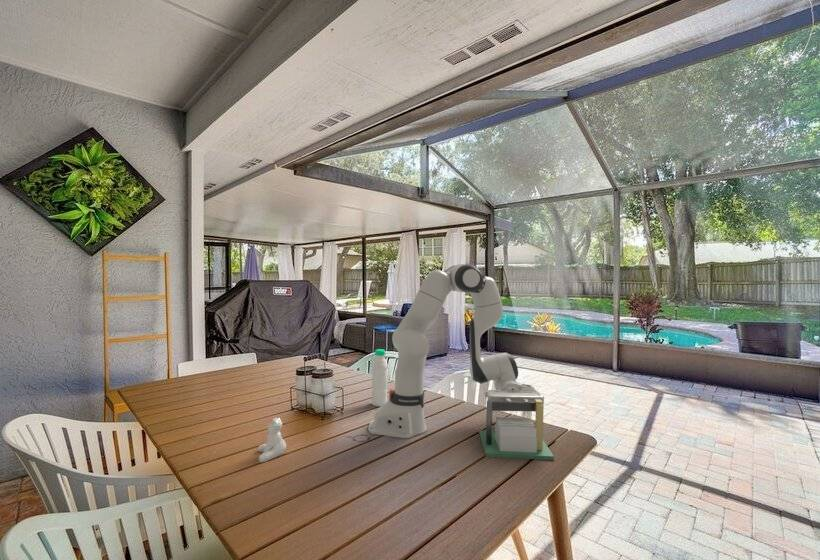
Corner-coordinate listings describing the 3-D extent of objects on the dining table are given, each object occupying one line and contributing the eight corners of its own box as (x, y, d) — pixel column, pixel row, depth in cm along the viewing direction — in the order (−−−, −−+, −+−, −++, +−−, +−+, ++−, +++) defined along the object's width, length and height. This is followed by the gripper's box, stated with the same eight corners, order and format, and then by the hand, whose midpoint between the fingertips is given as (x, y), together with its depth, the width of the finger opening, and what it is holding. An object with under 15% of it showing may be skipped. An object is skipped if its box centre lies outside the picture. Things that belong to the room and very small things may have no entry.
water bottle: (384, 407, 166) (385, 351, 166) (369, 406, 168) (370, 350, 167) (388, 402, 173) (389, 348, 173) (374, 400, 175) (375, 347, 174)
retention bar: (486, 444, 129) (487, 402, 128) (485, 441, 131) (486, 400, 130) (538, 444, 129) (539, 403, 128) (536, 442, 131) (537, 401, 130)
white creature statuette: (258, 450, 125) (258, 414, 125) (285, 445, 128) (285, 411, 128) (258, 463, 116) (259, 425, 116) (287, 458, 120) (288, 421, 120)
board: (485, 456, 123) (486, 405, 123) (479, 433, 141) (480, 388, 141) (553, 460, 121) (555, 407, 121) (538, 435, 139) (539, 390, 139)
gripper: (483, 384, 144) (490, 396, 130) (537, 385, 143) (549, 397, 130) (483, 400, 144) (489, 414, 131) (536, 401, 144) (548, 415, 130)
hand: (519, 406), depth 130 cm, fingers closed on retention bar, 3 cm apart
